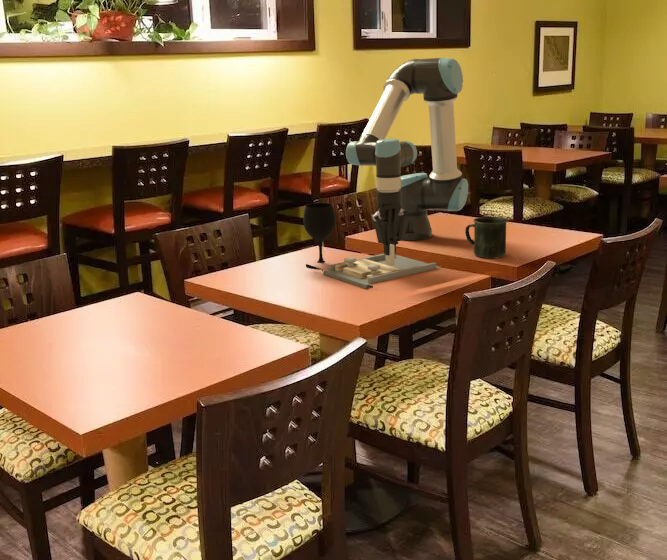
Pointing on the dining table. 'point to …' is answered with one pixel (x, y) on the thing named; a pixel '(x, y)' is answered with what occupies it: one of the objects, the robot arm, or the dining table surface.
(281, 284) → the dining table surface
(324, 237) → the wine glass
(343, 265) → the panel
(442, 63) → the robot arm
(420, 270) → the board
